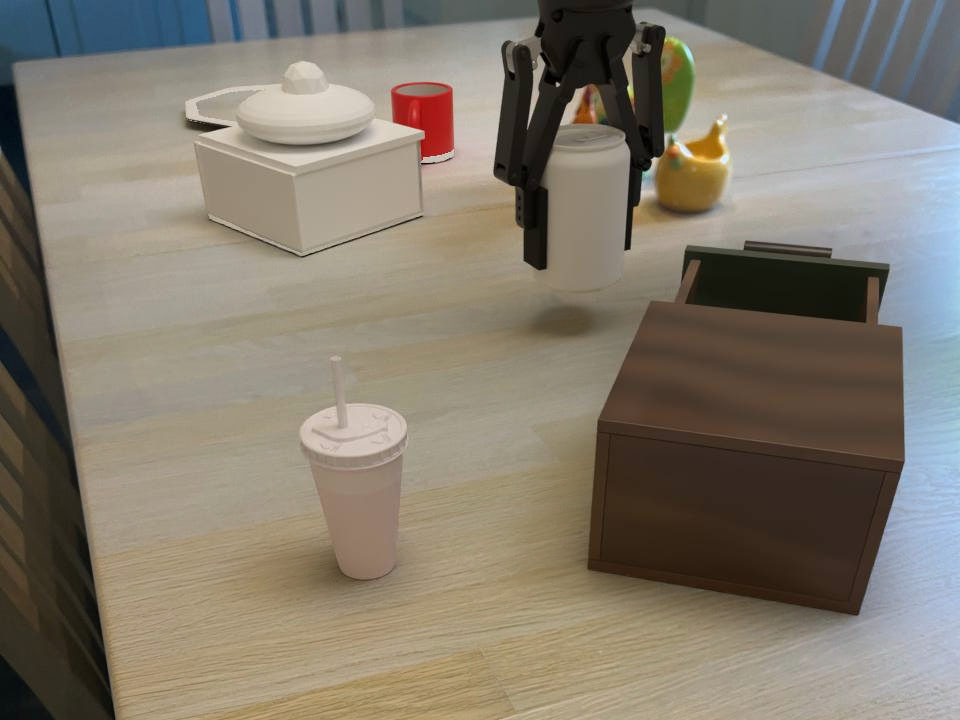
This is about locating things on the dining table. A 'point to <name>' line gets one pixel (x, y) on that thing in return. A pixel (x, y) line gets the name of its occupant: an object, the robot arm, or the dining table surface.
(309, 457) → the smoothie
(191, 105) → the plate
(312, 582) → the dining table surface
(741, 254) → the drawer
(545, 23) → the robot arm
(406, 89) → the mug
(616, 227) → the beverage can
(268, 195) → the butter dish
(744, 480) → the cabinet
